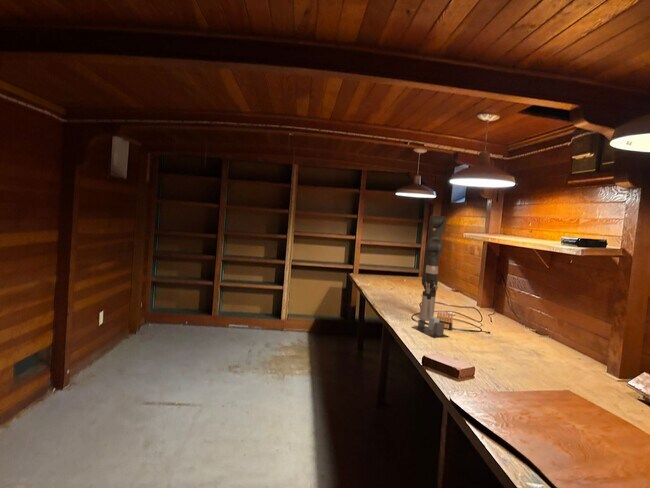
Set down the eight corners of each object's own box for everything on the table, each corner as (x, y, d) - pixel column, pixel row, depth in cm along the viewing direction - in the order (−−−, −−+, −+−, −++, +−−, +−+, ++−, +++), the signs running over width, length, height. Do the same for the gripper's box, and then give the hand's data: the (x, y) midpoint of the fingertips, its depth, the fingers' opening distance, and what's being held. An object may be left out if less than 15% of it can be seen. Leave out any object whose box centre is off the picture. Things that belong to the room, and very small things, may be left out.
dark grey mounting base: (411, 327, 263) (412, 315, 263) (426, 326, 268) (427, 315, 268) (433, 337, 242) (434, 324, 242) (449, 337, 247) (450, 324, 246)
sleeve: (428, 328, 253) (429, 317, 253) (433, 328, 255) (434, 316, 255) (433, 331, 249) (434, 319, 248) (438, 330, 250) (439, 318, 250)
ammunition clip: (452, 330, 265) (454, 312, 264) (451, 330, 263) (453, 312, 262) (436, 326, 270) (438, 309, 270) (435, 327, 269) (437, 309, 268)
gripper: (420, 270, 261) (417, 297, 262) (433, 274, 249) (430, 301, 250) (430, 271, 264) (427, 297, 265) (443, 274, 252) (440, 301, 253)
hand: (428, 299), depth 258 cm, fingers closed
